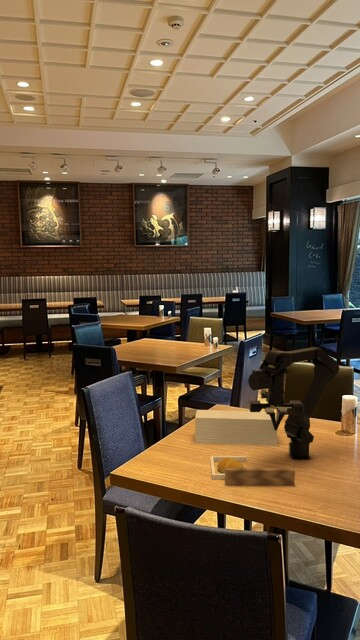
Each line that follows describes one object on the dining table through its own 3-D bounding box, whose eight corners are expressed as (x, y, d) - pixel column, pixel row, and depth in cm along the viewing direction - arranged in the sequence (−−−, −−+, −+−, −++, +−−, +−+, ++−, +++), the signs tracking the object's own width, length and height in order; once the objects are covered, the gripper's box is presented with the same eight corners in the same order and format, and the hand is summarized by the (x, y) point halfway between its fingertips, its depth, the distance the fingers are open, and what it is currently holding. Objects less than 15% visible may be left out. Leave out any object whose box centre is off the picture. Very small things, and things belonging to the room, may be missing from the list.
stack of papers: (195, 443, 191) (195, 417, 190) (196, 434, 201) (196, 409, 200) (276, 446, 187) (277, 419, 186) (274, 437, 198) (274, 411, 197)
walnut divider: (293, 483, 155) (293, 468, 154) (294, 485, 153) (294, 470, 152) (224, 482, 155) (224, 468, 155) (225, 485, 154) (225, 470, 153)
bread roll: (235, 478, 159) (235, 466, 159) (213, 471, 165) (213, 459, 165) (249, 470, 165) (249, 459, 165) (228, 463, 171) (228, 452, 171)
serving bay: (246, 460, 173) (246, 456, 173) (251, 479, 158) (251, 475, 157) (210, 460, 174) (210, 456, 174) (212, 479, 158) (212, 474, 158)
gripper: (297, 381, 176) (297, 422, 178) (246, 381, 177) (246, 422, 178) (305, 389, 165) (304, 433, 167) (250, 388, 166) (250, 432, 167)
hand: (275, 429), depth 170 cm, fingers closed
